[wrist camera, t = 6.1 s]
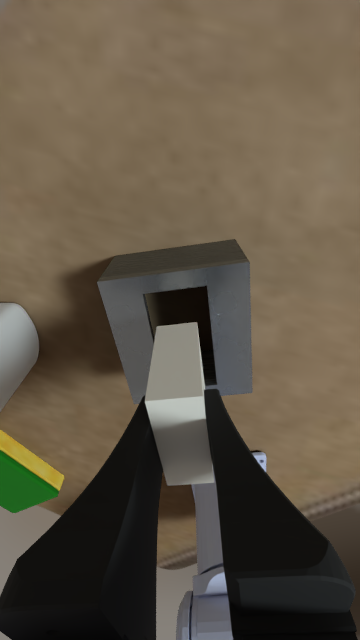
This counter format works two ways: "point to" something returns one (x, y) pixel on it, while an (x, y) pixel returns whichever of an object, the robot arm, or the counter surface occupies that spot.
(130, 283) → the slot box
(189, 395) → the block
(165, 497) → the counter surface
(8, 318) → the eye dropper bottle
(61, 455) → the counter surface
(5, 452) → the dish sponge
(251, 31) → the counter surface
